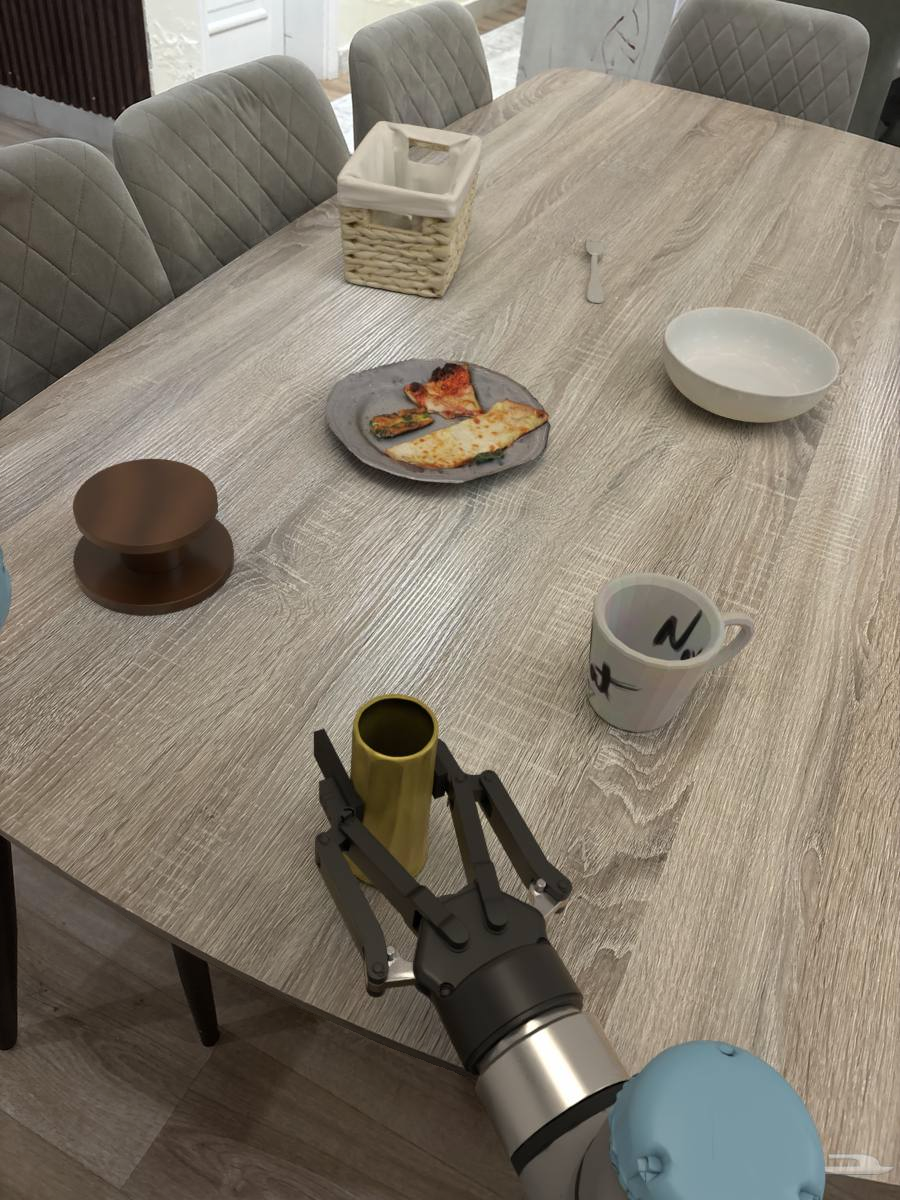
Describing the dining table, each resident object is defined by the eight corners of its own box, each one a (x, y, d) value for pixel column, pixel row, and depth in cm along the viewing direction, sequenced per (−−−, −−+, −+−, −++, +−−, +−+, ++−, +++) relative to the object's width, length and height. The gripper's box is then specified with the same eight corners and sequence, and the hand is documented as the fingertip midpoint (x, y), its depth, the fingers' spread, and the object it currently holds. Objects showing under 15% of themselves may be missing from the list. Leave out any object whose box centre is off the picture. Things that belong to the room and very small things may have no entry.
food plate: (469, 357, 118) (472, 331, 115) (588, 455, 105) (594, 429, 103) (290, 405, 106) (289, 377, 104) (399, 522, 94) (401, 494, 91)
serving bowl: (679, 337, 127) (693, 289, 122) (833, 387, 121) (854, 339, 116) (627, 406, 113) (640, 355, 108) (797, 467, 107) (820, 416, 103)
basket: (447, 307, 127) (457, 196, 116) (330, 286, 128) (331, 175, 117) (475, 237, 144) (487, 135, 134) (372, 219, 145) (376, 116, 135)
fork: (581, 316, 134) (585, 299, 131) (582, 240, 147) (586, 223, 145) (601, 319, 134) (605, 301, 131) (600, 242, 147) (604, 226, 145)
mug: (551, 661, 82) (573, 578, 75) (702, 638, 86) (736, 557, 79) (597, 757, 75) (625, 675, 68) (759, 727, 79) (802, 646, 72)
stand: (78, 626, 80) (61, 563, 75) (73, 522, 89) (58, 460, 84) (244, 602, 84) (239, 541, 79) (223, 505, 93) (217, 445, 88)
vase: (337, 817, 69) (339, 692, 59) (419, 807, 70) (435, 682, 60) (348, 893, 64) (353, 772, 54) (435, 881, 66) (455, 760, 56)
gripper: (372, 1146, 50) (233, 804, 64) (649, 999, 57) (470, 720, 71) (378, 1098, 45) (226, 737, 59) (682, 943, 52) (482, 654, 66)
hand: (360, 728), depth 65 cm, fingers closed on vase, 5 cm apart
